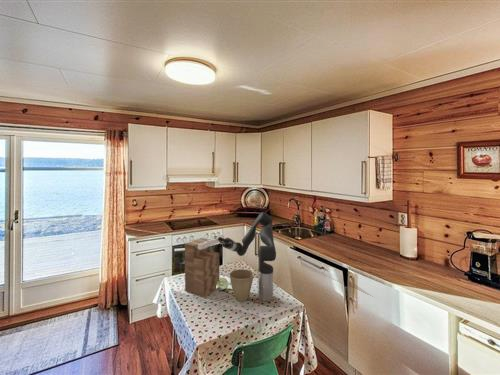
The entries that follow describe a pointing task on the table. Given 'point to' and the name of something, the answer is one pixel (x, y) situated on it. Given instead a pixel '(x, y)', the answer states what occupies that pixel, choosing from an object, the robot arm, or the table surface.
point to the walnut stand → (200, 269)
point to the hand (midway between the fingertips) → (216, 237)
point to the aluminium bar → (209, 242)
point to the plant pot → (241, 283)
